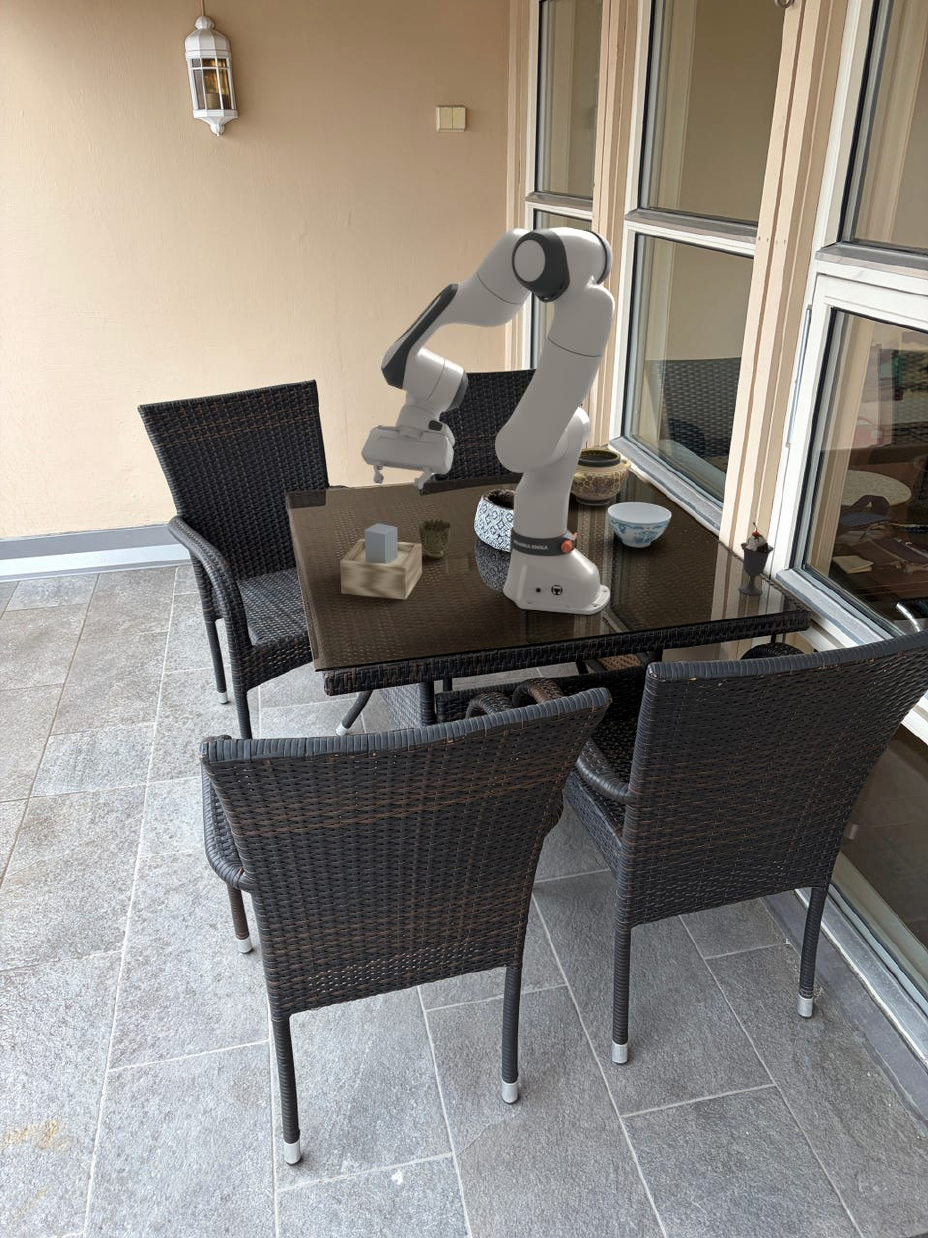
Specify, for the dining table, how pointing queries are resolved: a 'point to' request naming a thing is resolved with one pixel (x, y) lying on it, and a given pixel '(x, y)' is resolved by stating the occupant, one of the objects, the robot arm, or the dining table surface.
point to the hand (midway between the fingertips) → (397, 484)
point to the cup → (435, 537)
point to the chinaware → (638, 522)
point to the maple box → (381, 572)
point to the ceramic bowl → (599, 476)
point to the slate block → (381, 544)
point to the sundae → (754, 560)
